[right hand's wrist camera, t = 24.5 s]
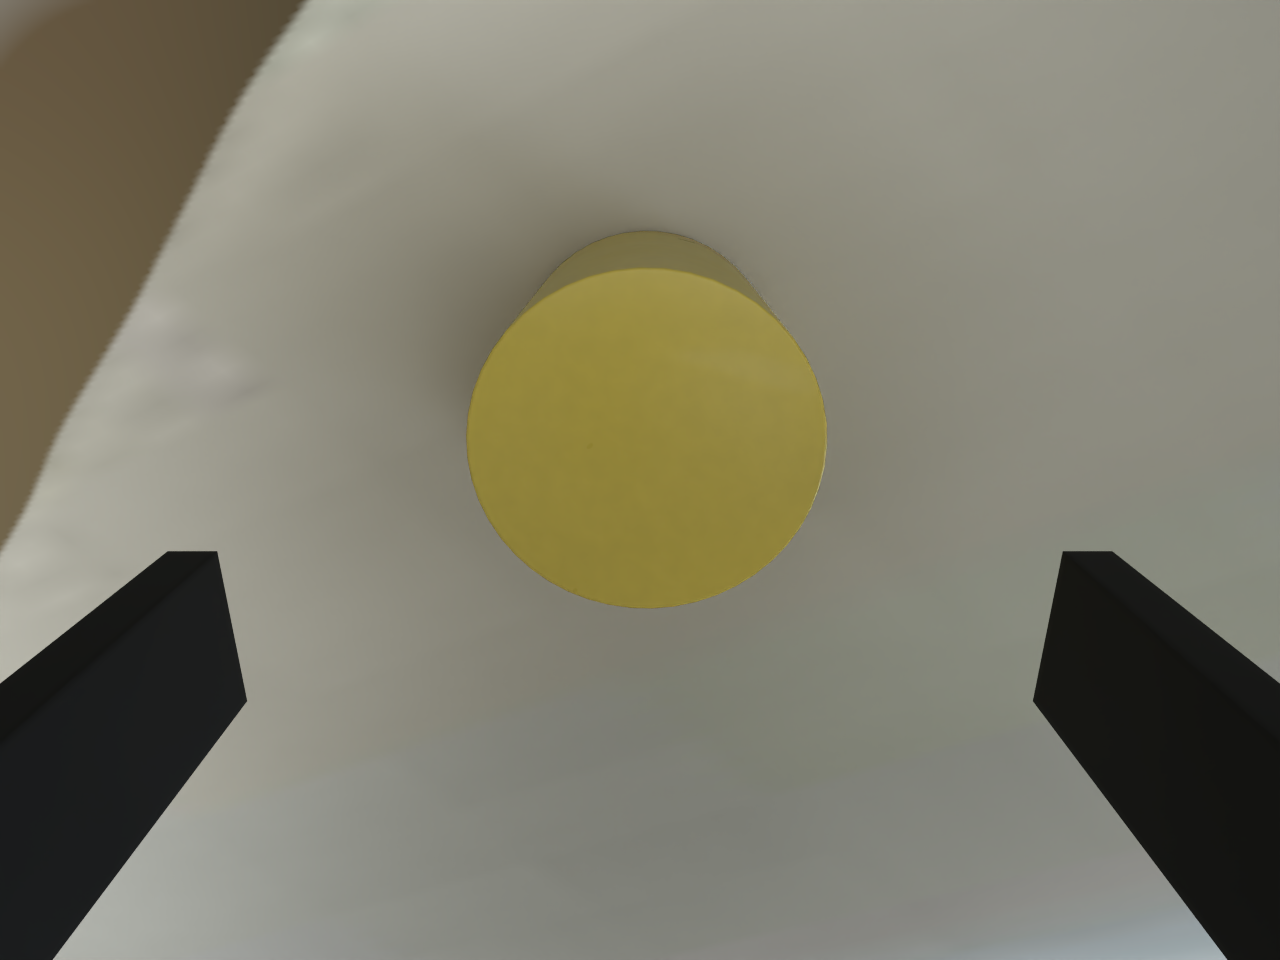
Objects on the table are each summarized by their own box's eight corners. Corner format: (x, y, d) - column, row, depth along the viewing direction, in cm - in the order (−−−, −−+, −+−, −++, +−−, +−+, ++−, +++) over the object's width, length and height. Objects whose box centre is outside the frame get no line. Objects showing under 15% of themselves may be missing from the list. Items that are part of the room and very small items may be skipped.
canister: (769, 473, 29) (819, 604, 20) (532, 481, 29) (486, 614, 20) (774, 225, 25) (836, 259, 17) (509, 236, 26) (443, 275, 17)
